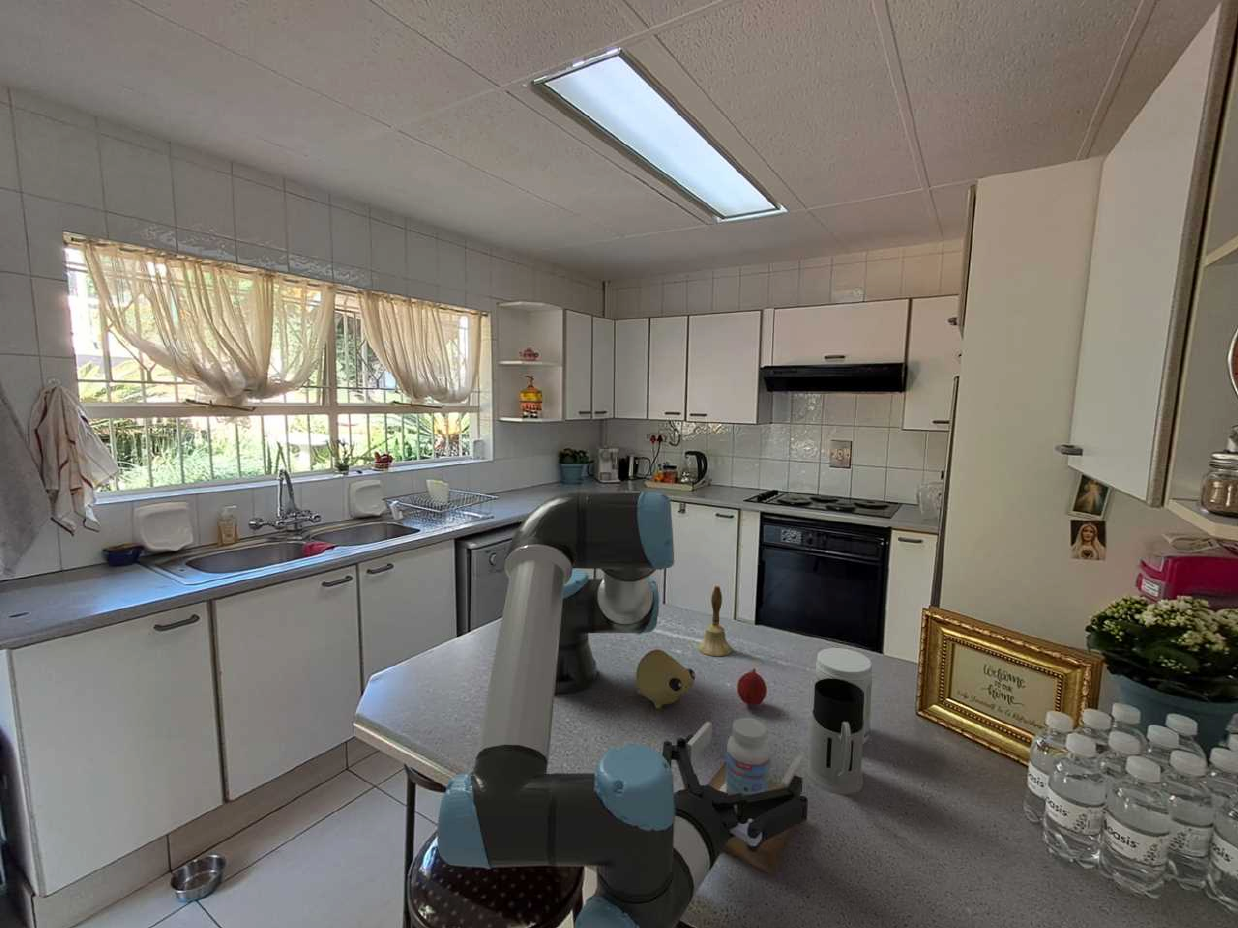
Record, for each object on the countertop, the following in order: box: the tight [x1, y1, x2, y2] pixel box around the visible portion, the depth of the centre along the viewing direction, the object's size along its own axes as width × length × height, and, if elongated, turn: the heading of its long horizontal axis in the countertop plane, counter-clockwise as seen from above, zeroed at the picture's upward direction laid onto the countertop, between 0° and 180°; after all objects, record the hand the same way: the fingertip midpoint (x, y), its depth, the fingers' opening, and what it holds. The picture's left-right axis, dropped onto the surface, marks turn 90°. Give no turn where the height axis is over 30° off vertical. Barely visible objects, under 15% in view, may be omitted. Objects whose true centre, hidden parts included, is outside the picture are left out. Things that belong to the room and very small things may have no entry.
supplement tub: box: [815, 647, 873, 745], centre depth 101 cm, size 10×10×15 cm
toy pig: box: [635, 648, 696, 710], centre depth 111 cm, size 10×12×11 cm
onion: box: [736, 667, 768, 708], centre depth 110 cm, size 6×6×8 cm
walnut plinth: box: [706, 761, 801, 875], centre depth 80 cm, size 12×12×4 cm
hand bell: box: [697, 585, 733, 657], centre depth 135 cm, size 8×8×16 cm
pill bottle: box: [726, 717, 771, 809], centre depth 79 cm, size 6×6×11 cm
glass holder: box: [806, 678, 864, 795], centre depth 87 cm, size 9×14×15 cm, turn 167°
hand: (752, 746), depth 79 cm, fingers open, 13 cm apart
